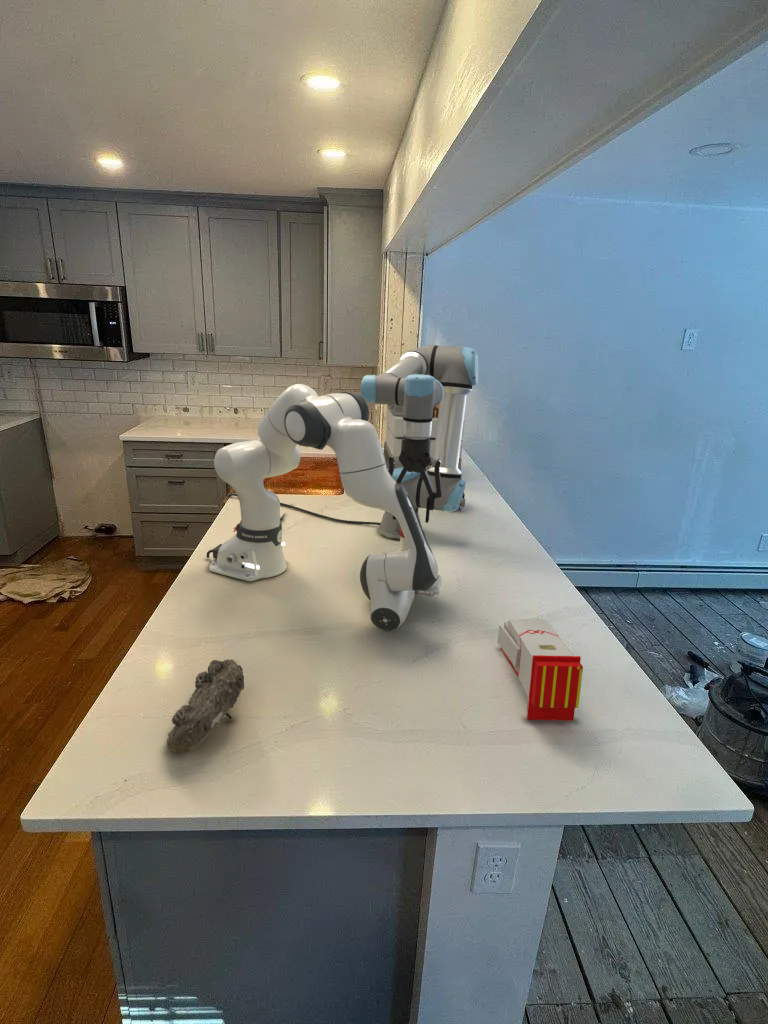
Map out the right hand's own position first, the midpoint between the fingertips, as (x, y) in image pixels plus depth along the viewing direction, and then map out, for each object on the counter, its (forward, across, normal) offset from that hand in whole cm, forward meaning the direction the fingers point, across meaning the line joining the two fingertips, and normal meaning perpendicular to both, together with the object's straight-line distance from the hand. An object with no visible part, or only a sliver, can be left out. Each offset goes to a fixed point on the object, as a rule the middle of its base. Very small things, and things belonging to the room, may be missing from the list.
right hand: (411, 519), depth 154 cm
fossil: (+22, +29, +61) cm, 71 cm away
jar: (+21, 0, 0) cm, 21 cm away
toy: (+21, -32, +34) cm, 52 cm away
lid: (+3, 0, 0) cm, 3 cm away
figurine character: (+21, -9, -76) cm, 80 cm away
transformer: (+21, +11, -121) cm, 124 cm away
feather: (+21, +52, -45) cm, 72 cm away
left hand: (+15, 0, -1) cm, 15 cm away
